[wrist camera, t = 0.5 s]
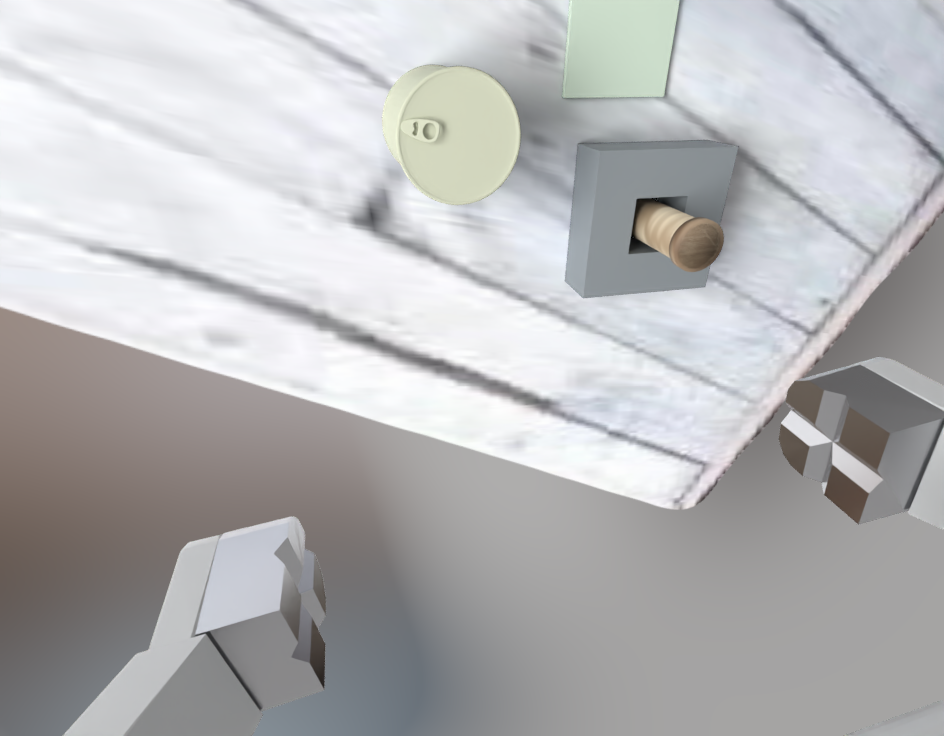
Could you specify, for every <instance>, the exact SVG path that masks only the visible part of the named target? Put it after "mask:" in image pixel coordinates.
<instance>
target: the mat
mask: <svg viewBox="0 0 944 736" xmlns="http://www.w3.org/2000/svg"><path fill="white" fill-rule="evenodd" d="M679 1H680V0H570V3H569V16H568V29H567V41H566V54H565V67H564V80H563V93H562V98H599V97H664V92H665V86H666V80H667V74H668V68H669V62H670V56H671V50H672V44H673V38H674V32H675V26H676V20H677V13H678V7H679Z"/></svg>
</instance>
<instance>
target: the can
mask: <svg viewBox="0 0 944 736" xmlns="http://www.w3.org/2000/svg"><path fill="white" fill-rule="evenodd" d="M382 126H383V133H384V137H385V141H386V143H387V146H388V148H389V150H390V152H391V153H392V155H393V156H394V158H395V159H396V160H397V161H398V163H399V164H400V165H401V166H402V168H403V170H404V172H405V174H406V175H407V177H408V178H409V180H410V181H411V182H412V184H413V185H414V186H415V187H416V188H417V189H418V190H419V191H421V192H422V193H423V194H425V195H426V196H428V197H429V198H431V199H433V200H435V201H438V202H441V203H445V204H451V205H464V204H470V203H474V202H477V201H479V200H482V199H484V198H486V197H488V196H489V195H491V194H492V193H493V192H495V191H496V190H497V189H498V188H499V187H500V186H501V185H502V184H503V183H504V182H505V180H506V179H507V178H508V176H509V175H510V173H511V171H512V169H513V167H514V165H515V163H516V160H517V157H518V154H519V149H520V141H521V128H520V121H519V116H518V113H517V110H516V107H515V105H514V103H513V101H512V99H511V97H510V95H509V94H508V92H507V91H506V90H505V88H504V87H503V86H502V85H501V84H500V83H499V82H498V81H497V80H496V79H494V78H493V77H492V76H490V75H488V74H487V73H485V72H483V71H480V70H478V69H474V68H470V67H464V66H453V67H445V66H440V65H425V66H420V67H417V68H414V69H412V70H410V71H408V72H407V73H405V74H404V75H403V76H402V77H400V78H399V79H398V80H397V81H396V83H395V84H394V85H393V87H392V88H391V90H390V91H389V93H388V96H387V98H386V101H385V104H384V108H383V115H382Z"/></svg>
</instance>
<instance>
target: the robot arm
mask: <svg viewBox="0 0 944 736" xmlns="http://www.w3.org/2000/svg"><path fill="white" fill-rule="evenodd" d="M786 404H787V405H788V406H789V408H790V409H791V411H790V412H789V414H788V415H787V416H786V417H785V419H784V420H783V421H782V423H781V426H780V433H779V442H780V446H781V449H782V452H783V455H784V456H785V458H786V459H787V460H788V462H789V464H790V465H791V466H792V467H793V468H794V469H795V470H797V472H799V473H800V474H801V475H802V476H804V477H807V478H810V479H812V480H815V481H818V482H821V483H822V487H823V493H824V495H825V496H826V497H827V498H828V499H829V500H831V501H832V502H833V503H834V504H835V505H836V506H838V507H839V508H840V509H841V510H842V511H844V512H845V513H846V514H847V515H848V516H849V517H850V518H851V519H853V520H854V521H855V522H856V523H857V524H862V523H866V522H869V521H873V520H877V519H880V518H884V517H887V516H891V515H894V514H898V513H901V512H905V511H909V512H908V514H909V515H912V516H914V517H916V518H919V519H921V520H923V521H925V522H927V523H930V524H932V525H934V526H937V527H939V528H941V529H943V530H944V386H943V385H941V384H939V383H937V382H935V381H933V380H931V379H930V378H928V377H926V376H924V375H921V374H920V373H918V372H916V371H914V370H912V369H910V368H908V367H906V366H904V365H902V364H900V363H898V362H897V361H895V360H893V359H888V358H882V357H877V358H873V359H870V360H866V361H863V362H859V363H856V364H852V365H850V366H848V367H843V368H840V369H836V370H832V371H829V372H825V373H822V374H818V375H815V376H811V377H807V378H804V379H800V380H796V381H794V383H793V384H792V385H791V386H790V388H789V389H788V392H787V397H786ZM304 545H305V532H304V530H303V528H302V526H301V524H300V522H299V520H298V518H295V517H293V516H292V517H288V518H284V519H279V520H275V521H271V522H268V523H263V524H259V525H255V526H251V527H247V528H243V529H239V530H235V531H231V532H226V533H224V534H222V535H217V536H213V537H209V538H205V539H201V540H197V541H192V542H188V544H187V545H186V546H185V547H184V548H183V549H182V550H181V552H180V554H179V557H178V560H177V563H176V567H175V570H174V573H173V576H172V579H171V582H170V585H169V588H168V592H167V594H166V598H165V601H164V604H163V607H162V610H161V613H160V616H159V619H158V623H157V625H156V628H155V631H154V634H153V638H152V641H151V644H150V647H149V650H147V651H145V652H141V653H138V654H136V655H135V656H134V657H133V658H132V659H131V660H130V661H129V663H128V664H127V665H126V666H125V667H124V668H123V669H122V670H121V672H120V673H119V674H118V675H117V676H116V677H115V678H114V679H113V680H112V682H111V683H110V684H109V685H108V686H107V687H106V688H105V689H104V690H103V691H102V693H101V694H100V695H99V696H98V697H97V698H96V699H95V700H94V701H93V703H92V704H91V705H90V706H89V707H88V708H87V709H86V711H85V712H84V713H83V714H82V715H81V716H80V717H79V718H78V719H77V720H76V722H75V723H74V724H73V725H72V726H71V727H70V728H69V729H68V730H67V731H66V733H65V734H64V735H63V736H252V735H253V733H254V731H255V729H256V727H257V725H258V723H259V722H260V720H261V718H262V716H263V715H262V713H261V711H264V710H267V709H270V708H273V707H276V706H279V705H282V704H285V703H288V702H291V701H294V700H297V699H300V698H302V697H306V696H308V695H311V694H314V693H317V692H320V691H323V690H324V686H325V684H324V683H325V681H324V680H325V642H324V641H323V638H322V636H321V635H320V632H319V630H318V627H319V626H320V624H321V623H322V621H323V620H324V618H325V616H326V596H325V588H324V581H323V576H322V573H321V569H320V566H319V563H318V561H317V558H316V556H315V554H314V553H312V552H310V551H308V550H306V549H304ZM844 736H944V700H941V701H938V702H935V703H933V704H930V705H927V706H924V707H921V708H919V709H916V710H913V711H911V712H908V713H905V714H902V715H899V716H897V717H894V718H891V719H888V720H886V721H883V722H880V723H877V724H874V725H872V726H869V727H866V728H863V729H861V730H858V731H855V732H852V733H850V734H847V735H844Z"/></svg>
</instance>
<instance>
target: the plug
mask: <svg viewBox="0 0 944 736" xmlns="http://www.w3.org/2000/svg"><path fill="white" fill-rule="evenodd" d="M631 236H633V237H635V238H636V239H638V240H640V241H642V242H643V243H645V244H647V245H648V246H650V247H652V248H654V249H655V250H657V251H659V252H660V253H662V254H664V255H666V256H667V257H669V258H670V259H671V261H672V262H673V263H674V264H675V265H676V266H677V267H679V268H681V269H682V270H684V271H687V272H697V271H700V270H703V269H705V268H706V267H708V266H709V265H710V264H712V263H713V262H714V261H715V259H716V258H717V257H718V255H719V253H720V252H721V249H722V246H723V242H724V235H723V231H722V229H721V227H720V226H719V224H717V223H716V222H714V221H712V220H709V219H707V218H704V217H693V216H690V215H688V214H686V213H683V212H681V211H679V210H676V209H674V208H672V207H669V206H667V205H665V204H662V203H660V202H658V201H655V200H653V199H651V198H639V199H637V200H636V207H635V213H634V220H633V226H632V233H631Z"/></svg>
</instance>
